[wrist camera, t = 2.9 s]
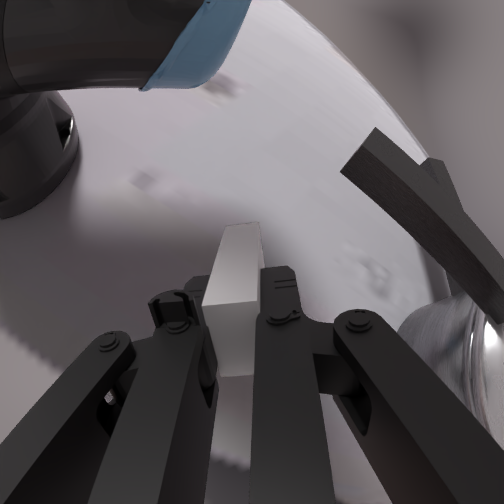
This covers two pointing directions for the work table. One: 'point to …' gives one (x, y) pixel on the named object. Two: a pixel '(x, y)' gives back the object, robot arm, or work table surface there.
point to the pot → (445, 322)
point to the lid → (444, 256)
